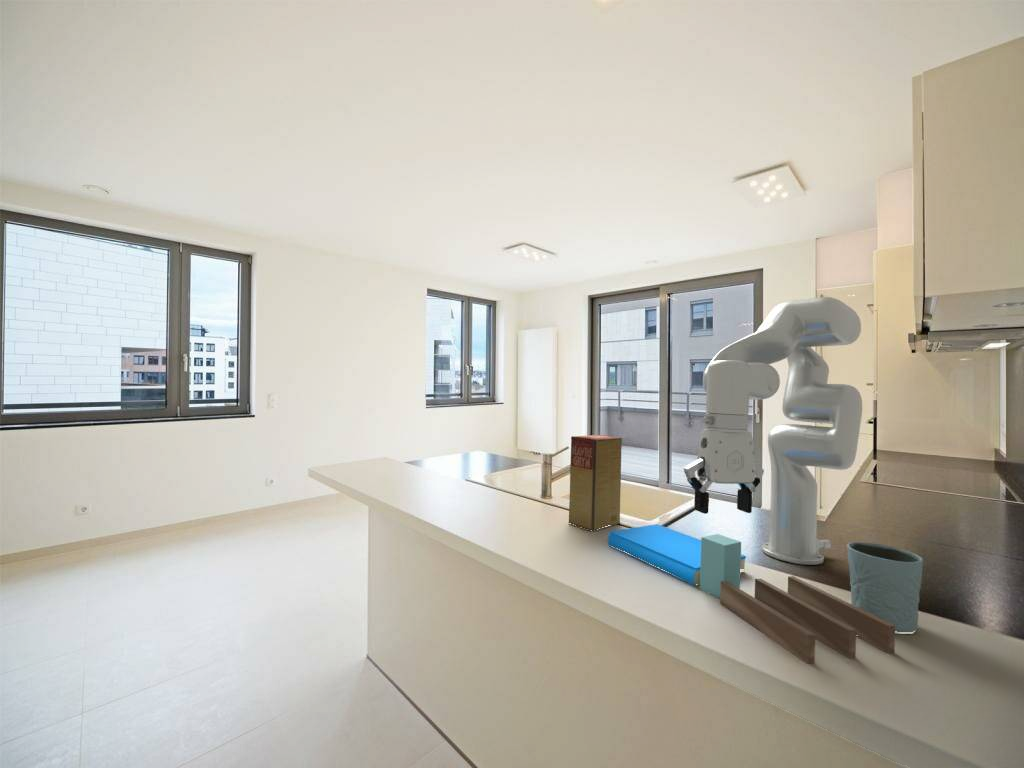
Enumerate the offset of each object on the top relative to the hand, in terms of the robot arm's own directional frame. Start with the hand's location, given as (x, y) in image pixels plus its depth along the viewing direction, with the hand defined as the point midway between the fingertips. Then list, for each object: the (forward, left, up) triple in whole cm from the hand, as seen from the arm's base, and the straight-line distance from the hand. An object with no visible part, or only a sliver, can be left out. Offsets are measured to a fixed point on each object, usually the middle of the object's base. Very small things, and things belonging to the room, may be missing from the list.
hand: (722, 511), depth 86 cm
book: (0, -17, -16) cm, 23 cm away
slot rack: (-4, +14, -15) cm, 21 cm away
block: (+1, 0, -15) cm, 15 cm away
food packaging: (+7, -44, -15) cm, 47 cm away
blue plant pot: (-20, +15, -15) cm, 30 cm away
